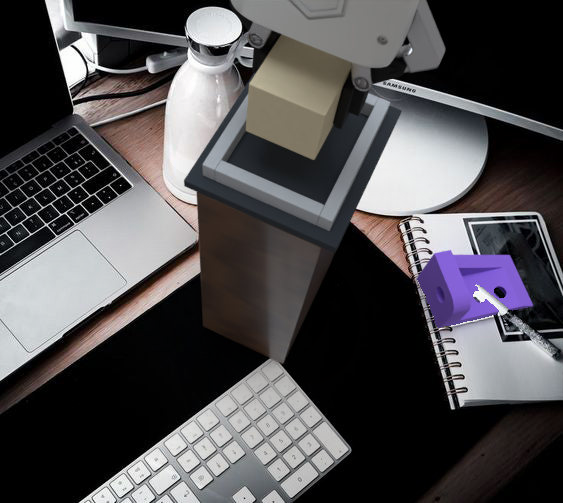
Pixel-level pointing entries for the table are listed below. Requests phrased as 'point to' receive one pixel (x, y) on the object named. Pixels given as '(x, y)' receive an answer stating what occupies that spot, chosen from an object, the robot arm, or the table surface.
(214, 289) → the riser
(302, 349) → the table surface
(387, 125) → the base pad
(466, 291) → the bracket
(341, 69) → the beige rectangular block
